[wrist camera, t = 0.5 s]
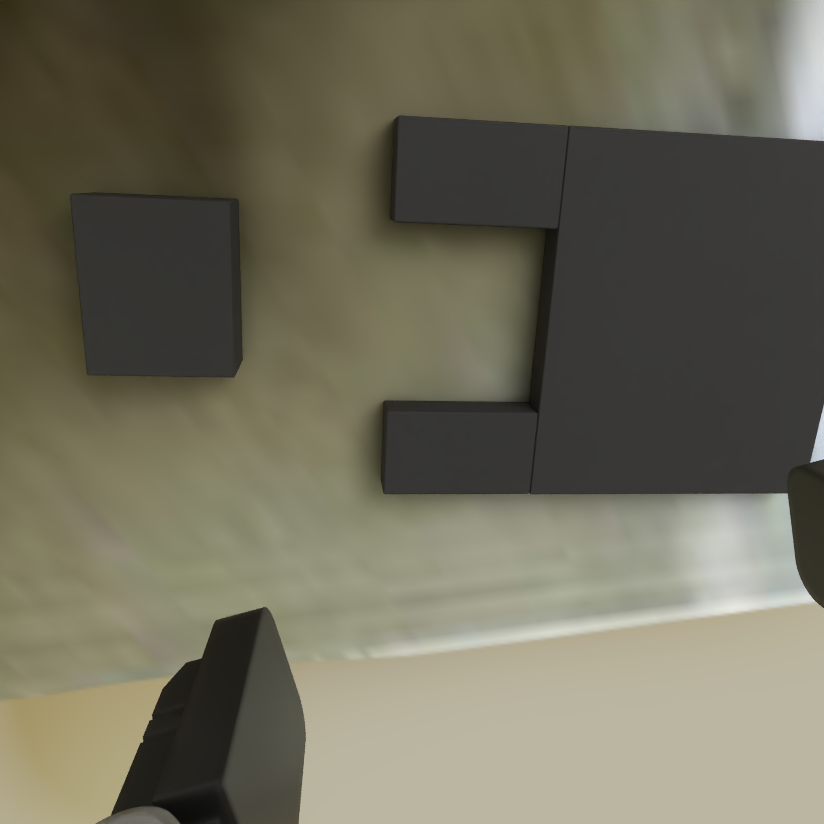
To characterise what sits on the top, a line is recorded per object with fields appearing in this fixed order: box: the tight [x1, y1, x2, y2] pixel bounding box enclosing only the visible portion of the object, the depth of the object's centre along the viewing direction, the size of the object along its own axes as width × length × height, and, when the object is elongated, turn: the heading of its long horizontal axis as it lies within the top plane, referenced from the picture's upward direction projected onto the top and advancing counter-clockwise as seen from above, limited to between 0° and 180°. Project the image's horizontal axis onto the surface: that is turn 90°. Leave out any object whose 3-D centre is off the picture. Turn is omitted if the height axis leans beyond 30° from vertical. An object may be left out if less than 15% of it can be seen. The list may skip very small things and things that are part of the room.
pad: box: [70, 193, 243, 377], centre depth 25 cm, size 6×5×2 cm
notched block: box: [381, 116, 824, 494], centre depth 28 cm, size 14×18×2 cm
